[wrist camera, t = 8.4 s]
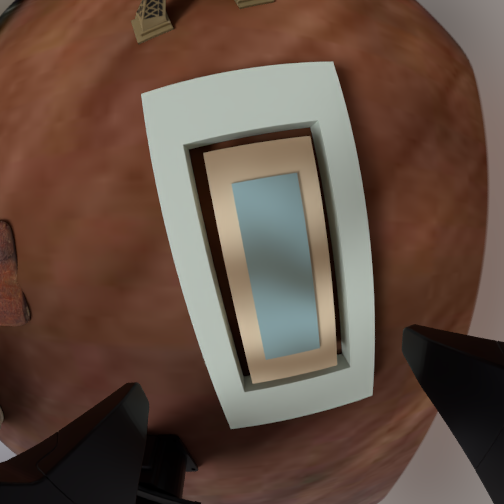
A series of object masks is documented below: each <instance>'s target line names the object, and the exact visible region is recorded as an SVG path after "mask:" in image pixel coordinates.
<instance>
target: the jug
mask: <svg viewBox="0 0 504 504" xmlns="http://www.w3.org/2000/svg"><path fill="white" fill-rule="evenodd" d="M3 419H4V416H3V412H2V409H1V407H0V428H1V423H2V422H3Z"/></svg>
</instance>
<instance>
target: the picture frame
mask: <svg viewBox="0 0 504 504" xmlns="http://www.w3.org/2000/svg"><path fill="white" fill-rule="evenodd" d="M203 155H204V160H205V166H206V171H207V176H208V182H209V187H210V192H211V197H212V203H213V208H214V213H215V218H216V223H217V228H218V233H219V238H220V242H221V247H222V252H223V257H224V262H225V266H226V271H227V276H228V280H229V285H230V289H231V294H232V298H233V303H234V307H235V312H236V316H237V320H238V325H239V329H240V333H241V338H242V342H243V346H244V350H245V355H246V359H247V363H248V367H249V371H250V375H251V379H252V383H253V384H255V383H261V382H266V381H272V380H277V379H282V378H287V377H291V376H296V375H300V374H305V373H309V372H313V371H317V370H321V369H325V368H329V367H333V366H336V365H337V347H336V329H335V314H334V301H333V289H332V278H331V268H330V259H329V251H328V242H327V234H326V227H325V220H324V213H323V206H322V199H321V193H320V187H319V181H318V175H317V169H316V164H315V158H314V153H313V148H312V143H311V138H310V136H304V137H295V138H287V139H280V140H273V141H266V142H259V143H253V144H247V145H241V146H236V147H230V148H225V149H220V150H215V151H210V152H205V153H203Z"/></svg>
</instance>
